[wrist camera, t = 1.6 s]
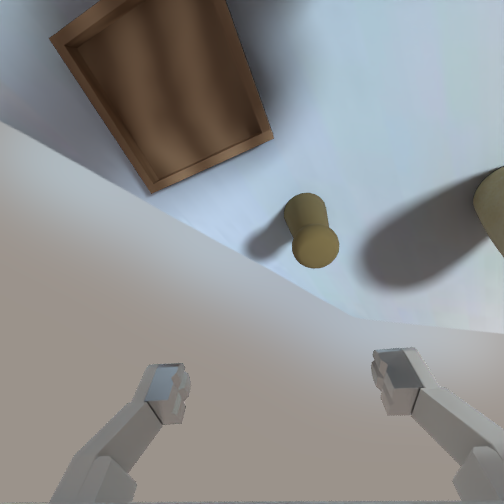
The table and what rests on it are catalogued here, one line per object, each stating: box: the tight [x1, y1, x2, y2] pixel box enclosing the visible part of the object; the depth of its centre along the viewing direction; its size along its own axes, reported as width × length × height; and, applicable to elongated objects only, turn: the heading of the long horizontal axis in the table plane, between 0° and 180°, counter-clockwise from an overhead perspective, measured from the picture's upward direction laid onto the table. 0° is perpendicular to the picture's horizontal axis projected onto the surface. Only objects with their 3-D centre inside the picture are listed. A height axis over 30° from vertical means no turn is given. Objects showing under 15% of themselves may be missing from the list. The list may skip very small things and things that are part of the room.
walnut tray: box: [49, 0, 274, 194], centre depth 28 cm, size 17×17×3 cm
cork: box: [284, 193, 339, 268], centre depth 32 cm, size 6×6×11 cm
